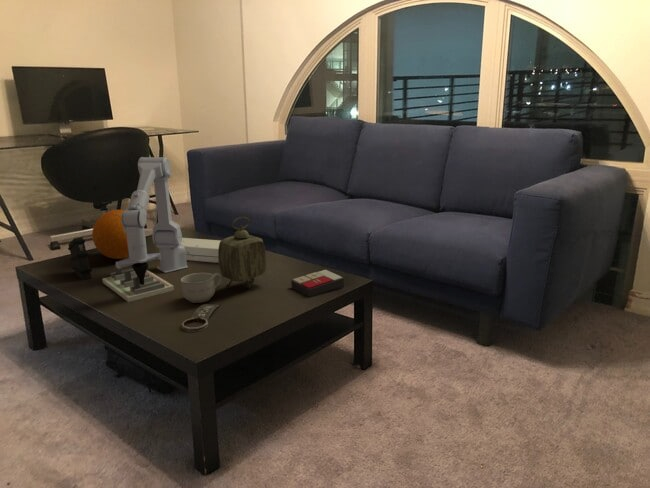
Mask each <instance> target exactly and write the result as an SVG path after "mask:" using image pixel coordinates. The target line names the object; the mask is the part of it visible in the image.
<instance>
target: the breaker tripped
mask: <svg viewBox="0 0 650 488" xmlns="http://www.w3.org/2000/svg"><path fill="white" fill-rule="evenodd" d="M133 285H134V288H133V290H134V289H138V288H141V287H140V280H139V277H134V278H133Z"/></svg>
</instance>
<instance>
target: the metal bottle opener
mask: <svg viewBox="0 0 650 488" xmlns="http://www.w3.org/2000/svg"><path fill="white" fill-rule="evenodd" d="M220 306H221V304H206V303H205V304H202V305H200V306H199V307H198V308H197V309H196V310H194V312H193V314H192V315H191V317H190V318H188V319H185V320H184V321H183V322H182V323H181V329H182V330H184V331H185V332H193V333H196V332H200V331H203V330H205V329H206V328H209V327H208V326H209V322H208V321H209V320H210V317H211V315H212V314H213V313H214V311H215V310H216V309H219V308H220ZM195 322H197V323H199V322H200V323H203V324H202V325H200V326H191V327H189V326H187V325H188V324H191V323H195Z"/></svg>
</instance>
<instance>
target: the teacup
mask: <svg viewBox="0 0 650 488" xmlns="http://www.w3.org/2000/svg"><path fill="white" fill-rule="evenodd" d="M216 277H218V280H217V282H216V283H215V279H216ZM222 281H223V276H222V274H221V273H219V272H214V273H212V272H211V273H210V272H196V273H190V274H186V275H184V276H183V277H181V278H180V282H181V291H182V295H183V297H184V299H186V300H187V301H188V302H190V303H192V304H193V303H194V304H199V303H200V304H201V303H205V302H208V301H210V300H211V299H212V297H213V296H214V294H215V293H216V289H217V288H218V287H219V286H220V285H221V284H222Z"/></svg>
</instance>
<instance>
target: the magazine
mask: <svg viewBox="0 0 650 488" xmlns="http://www.w3.org/2000/svg"><path fill="white" fill-rule="evenodd" d="M85 243H86V239H84V238H83V236H81V237H75V238H73V239H72V240H71V241H70V243H69V244H68V248H67V250H68V251H69V252H70V260H71V261H72V267H71V269H72V270H73V273H74V274H75V275H77V276H78V277H79V278H80V279H82V280H83V281H85V280H90V279H91V278H92V268H90V267H91V266H90V262H89V256H90V255H89V253H88V252H87V249H86V245H85Z"/></svg>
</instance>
